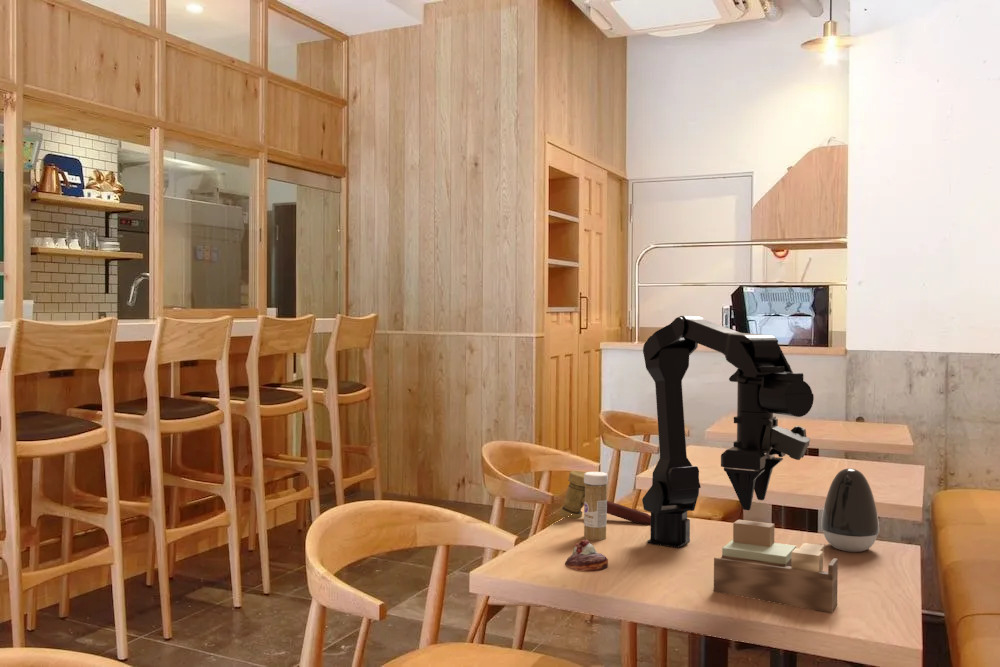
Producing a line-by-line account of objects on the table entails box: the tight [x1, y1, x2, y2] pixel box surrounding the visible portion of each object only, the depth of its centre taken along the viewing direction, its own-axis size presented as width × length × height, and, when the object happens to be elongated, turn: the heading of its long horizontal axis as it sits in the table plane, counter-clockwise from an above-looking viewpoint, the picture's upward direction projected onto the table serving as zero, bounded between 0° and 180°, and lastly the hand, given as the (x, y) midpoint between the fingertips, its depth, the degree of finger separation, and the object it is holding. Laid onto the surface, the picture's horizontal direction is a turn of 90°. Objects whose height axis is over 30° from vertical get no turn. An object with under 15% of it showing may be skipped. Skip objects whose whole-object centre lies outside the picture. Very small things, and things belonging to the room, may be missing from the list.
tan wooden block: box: [791, 542, 825, 573], centre depth 135 cm, size 4×7×3 cm, turn 150°
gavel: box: [559, 470, 651, 526], centre depth 185 cm, size 21×5×10 cm, turn 71°
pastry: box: [565, 539, 609, 572], centre depth 152 cm, size 8×8×5 cm
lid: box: [721, 519, 797, 564], centre depth 143 cm, size 10×8×4 cm
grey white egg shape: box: [820, 467, 880, 553], centre depth 166 cm, size 10×10×15 cm
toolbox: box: [713, 554, 839, 614], centre depth 140 cm, size 18×12×7 cm
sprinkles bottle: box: [583, 471, 609, 541], centre depth 170 cm, size 5×5×14 cm
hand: (754, 504), depth 146 cm, fingers open, 9 cm apart
